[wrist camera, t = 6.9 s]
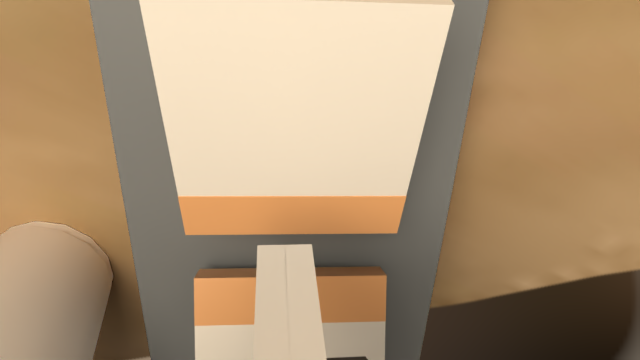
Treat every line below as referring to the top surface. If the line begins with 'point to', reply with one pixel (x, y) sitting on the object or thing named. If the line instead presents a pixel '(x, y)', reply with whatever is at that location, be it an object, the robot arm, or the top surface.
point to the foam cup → (51, 292)
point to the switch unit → (241, 250)
